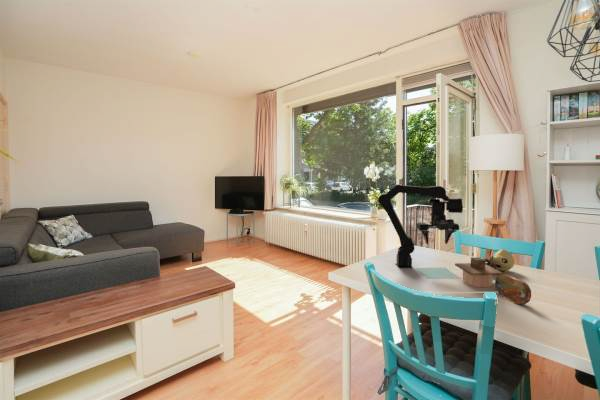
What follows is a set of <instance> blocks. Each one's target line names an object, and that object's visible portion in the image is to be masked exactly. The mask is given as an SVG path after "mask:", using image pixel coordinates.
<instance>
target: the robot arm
mask: <svg viewBox="0 0 600 400" xmlns="http://www.w3.org/2000/svg"><path fill="white" fill-rule="evenodd" d="M399 193H400V194H401V193H402V194H411V195H412V194H413V195H423V196H427V197H430V199H428V200H427V203H428V204H430V203H431V213H430V214H429V215H430V220H431V221H429V224H428V223H426V222H417V223H416V224H415V228H416V229H417V230H418V231H420V232H421V234H422V236H423V239H424V241H425V244H426V245H428V244H429V233H430V230H429V229H438V230H439V231H444V244H445V245H447V244H448V243H449V241H450V238H451V237H452V234H454V233H456V232H457V231H459V230H460V224H459V223H456V222H455V220H454V219H452V218H451V219H450V218H449V219H447V215H446V214H445V211H448V213H455V214H462V213H463V209H464V206H463V198H450V197H449V196H448V195H447V191H446V189H445V187H444V186H441V185H431V186H417V185H416V186H415V185H408V184H407V185H405V184H403V185H402V184H399V183H397V184H396V185H394V186H393V188H391V189H390V190H389V191H387V192H386V193H385V192H384V193H382V194H380V195H379V197H378V200H377V201H378V203H379V205H380V206H381V207H382V209H383V210H384V211H385V213H386V214H387V216H388V217H389V219H390V223H392V226H393V227H394V231H395V232H396V234H397V236H398V238H399V242H400V246H399V247H398V249H397V253H396V263H395V266H397V267H398V268H399V269H412V268H413V267H412V265H413V258H412V255H411V254H413V252H415V245H416V242H415V240H414V239H413V237H412V235H408V233H406V230H405V228H404V226H403V224H402V223H401V221H400V219H399V217H398V214H397V212H396V210H395V209H394V204H393V201H392V199H394V198H395V196H397V195H398V194H399ZM441 200H442V201H441Z"/></svg>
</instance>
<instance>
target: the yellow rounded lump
mask: <svg viewBox="0 0 600 400" xmlns="http://www.w3.org/2000/svg"><path fill="white" fill-rule="evenodd" d="M488 259H490V260H491V261H492V262H493V263H495V265H496V269H497V270H498V271H500V272H504V273H505V274H508V273H509V271H510V270H512V269H513V268H514V266H515V258H514V256H513V255H512V254H511V252H510V251H508V250H507V249H504V248H503V249H499V250H498V251H496V252H494V254H493V255H491V256H490V257H489V258H488Z"/></svg>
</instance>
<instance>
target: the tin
mask: <svg viewBox="0 0 600 400" xmlns="http://www.w3.org/2000/svg"><path fill="white" fill-rule="evenodd" d="M494 285H495V289H496V291H497V293H498V294H499V295H500V296H501V297H503V298H505V299H507V300H509V301H511V302H513V303H514V304H517V305H525V304H526V305H527V304H529V302H530V301H531V299H532V290H531V287H530V286H529V285H528V283H527V282H525V281H523V280H521V279H518V278H516V277H514V276H512V275H509V274H504V273H503V274H500V275H496V277H495V282H494Z"/></svg>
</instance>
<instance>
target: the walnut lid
mask: <svg viewBox="0 0 600 400" xmlns="http://www.w3.org/2000/svg"><path fill="white" fill-rule="evenodd" d="M486 263H487V262H486V260H484V259H483V258H482V257H471V258H470V262H469V263H468V262H467V263H466V262H465V263H463V262H459V263H454V266H455V267H457V268H458V269H460V270H462V271H463V270H464V271H465V272H467V273H468V274H470V275H493V276H498V275H500V274H503V275H504V273H503V271H499V270H496V269H494V268H492V267H490V266H488V265H486Z"/></svg>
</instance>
